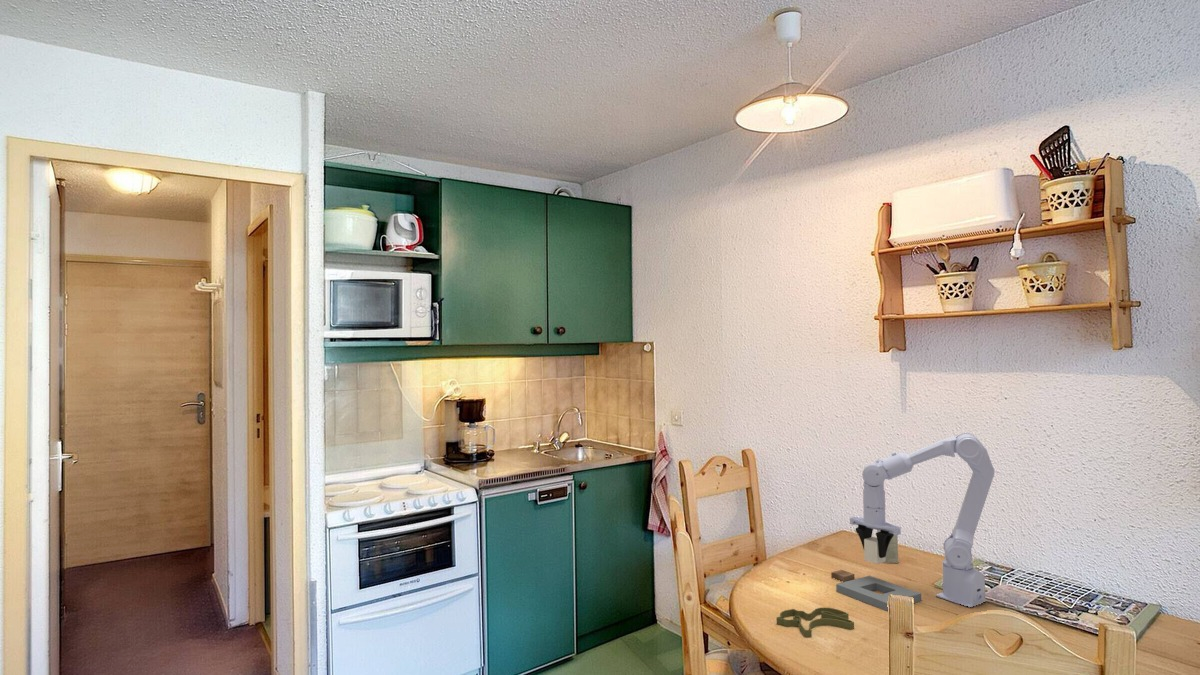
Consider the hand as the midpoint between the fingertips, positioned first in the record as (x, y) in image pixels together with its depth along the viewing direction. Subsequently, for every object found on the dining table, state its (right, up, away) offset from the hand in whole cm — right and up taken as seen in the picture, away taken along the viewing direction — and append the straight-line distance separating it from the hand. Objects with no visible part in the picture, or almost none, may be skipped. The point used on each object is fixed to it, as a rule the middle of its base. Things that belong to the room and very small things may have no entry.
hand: (874, 555), depth 181 cm
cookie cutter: (-25, -9, -25) cm, 37 cm away
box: (+14, -10, +23) cm, 28 cm away
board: (-2, -9, -7) cm, 12 cm away
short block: (-7, -10, +6) cm, 13 cm away
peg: (0, -2, 0) cm, 2 cm away
